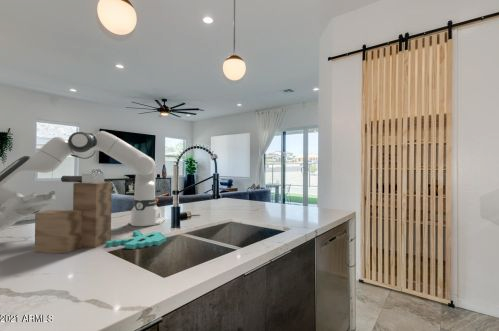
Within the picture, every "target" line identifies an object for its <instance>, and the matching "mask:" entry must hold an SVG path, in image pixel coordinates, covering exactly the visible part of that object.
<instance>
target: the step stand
mask: <svg viewBox="0 0 499 331" xmlns="http://www.w3.org/2000/svg"><path fill="white" fill-rule="evenodd" d="M72 184H73V185H72V186H73V190H72V191H73V192H72V195H73V196H72V197H73V198H72V200H73V201H72V209H49V210H44V211H43V210H41V211H40V212H37V213H34V253H44V254H45V253H46V254H48V253H49V254H68V253H70V252H73V251H75V250H78V249H80V248H92V249H93V248H95V249H96V248H98V247H100V246H102V245H104V244H105V245H106V242H108V241H112V239H111V238H112V189H113V188H112V187H113V186H112V184H113V182H112V181H107V182H105V181H104V182H103V183H80V182H72Z"/></svg>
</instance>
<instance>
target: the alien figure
mask: <svg viewBox="0 0 499 331" xmlns="http://www.w3.org/2000/svg"><path fill="white" fill-rule="evenodd" d="M132 236H133V237H132V238H124V239H116V240H111V241H108V242H106V243H105V247H106V248H107V247H109V248H111V247H113V246H117V247H118V246H121V245H124V249H127V250H128V249H131V250H135V249H137V248H146V247H152V246H160V245H162V244H163V243H166V242H167V237H166V236H165V235H163V233H161V231H160V232H158V231H150V232H149V233H147V234H143V233H142V232H141V230H134V231H132Z"/></svg>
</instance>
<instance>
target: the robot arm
mask: <svg viewBox="0 0 499 331" xmlns="http://www.w3.org/2000/svg"><path fill="white" fill-rule="evenodd" d="M96 151H99V152H103V153H104V154H105V155H107V156H109V157H111V158H112V159H114V160H115V161H117V162H119V163H121V164H122V165H124V166H125V167H127V168H128V169H130V170H131V171H133V172H134V173H135V177H134V179H135V180H134V197H133V198H134V199H133V204H132V205H133V208H131V212H130V220H129V221H128V224H130V226H132V227H133V226H134V227H149V226H156V225H157V226H158V225H161V224H162V223H163V222H165V221H166V217H163V216H162V209H161V208H160V207H158V206H157V204H158V203H159V199H158V198H156V175H157V174H156V172H157V164H156V162H155V160H154V158H152V157H151V156H149V155H147V154H145V153H144V152H142V151H141V150H139V149H137V148H135V147H134V146H133V145H131V144H129V143H128V142H126V141H124V140H123V139H121V138H119V137H117V136H116V135H114V134H112V133H109V132H107V131H105V130H101V131H98V132H97V133H91V132H83V131H75V132H73V133H72V134H70V136H69V137H68V139H66V138H64V137H60V136H54V137H52V138H51V139H49V140H48V141H47V142H46V143H45V144H43V145H42V146H41V147H40V149H39V150H37V151H36V152H35V153H33V154H31V155H24V156H22V157H19V158H18V159H16V160H15V161H14V162H12V163H10V164H9V165H8V166H7V167H5V168H3V169H2V170H1V171H0V232H1V231H3V230H5V229H8V228H10V227H11V226H13V225H15V224H16V223H17V222H19V221H21V220H24V219H25V218H27V217H29V216H31V215H35V213H37V212H42V211H43V209H44V208H47V207H48V206H50V205H51V204H52V203H54V202H55V201H56V199H57V198H56V194H57V193H56V190H51V191H49V192H48V193H43V194H42V193H41V194H37V193H36V192H32V193H30V194H28V195H23V194H22V193H20V192H17V191H15V190H12V189H10V188H8V187H5V186H4V184H6V183H7V182H8V181H10V180H11V179H13V177H15V176H16V175H17V174H19V173H22V172H25V171H27V172H28V171H29V172H34V173H35V172H36V173H45V174H46V173H51V172H54V171H55V170H57V169H58V168H59V167H60V165H62V164H63V162H64V161H65V160H66V158H68V157H69V156H71V157H74V158H78V159H83V160H85V159H86V160H87V159H90V158H91V157H93V156H94V155H95V153H96Z"/></svg>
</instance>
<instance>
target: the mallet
mask: <svg viewBox="0 0 499 331" xmlns="http://www.w3.org/2000/svg"><path fill="white" fill-rule="evenodd" d="M60 181H61V183H103V182H105V173H104V172H103V173H102V172H100V173H99V172H92V173H89V172H88V173H85V172H84V173H81V175H62V176H61V177H60Z"/></svg>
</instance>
